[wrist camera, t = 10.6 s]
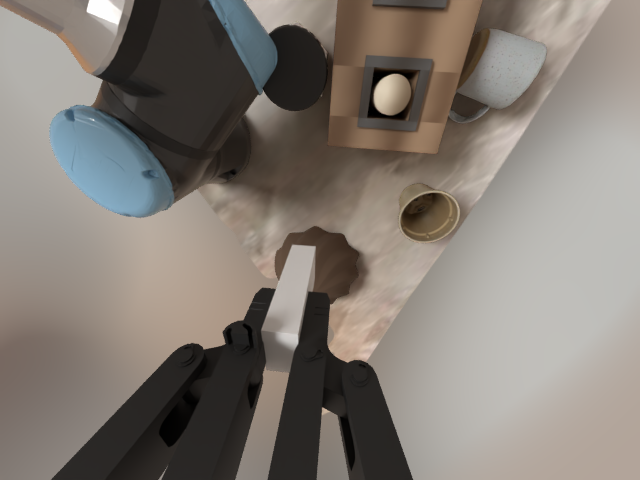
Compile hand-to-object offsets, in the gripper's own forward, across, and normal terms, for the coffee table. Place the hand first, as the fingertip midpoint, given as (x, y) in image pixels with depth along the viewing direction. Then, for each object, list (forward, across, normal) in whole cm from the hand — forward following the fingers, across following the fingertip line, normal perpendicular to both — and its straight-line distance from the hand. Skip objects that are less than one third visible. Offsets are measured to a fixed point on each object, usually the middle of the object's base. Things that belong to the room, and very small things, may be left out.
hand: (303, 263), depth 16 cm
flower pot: (+33, +17, -7) cm, 37 cm away
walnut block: (+32, +7, +15) cm, 37 cm away
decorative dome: (+33, -2, -24) cm, 41 cm away
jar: (+33, -6, +14) cm, 36 cm away
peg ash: (+31, +7, +10) cm, 33 cm away
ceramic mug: (+33, +21, +12) cm, 41 cm away
